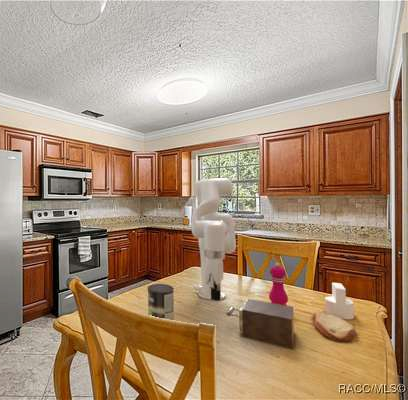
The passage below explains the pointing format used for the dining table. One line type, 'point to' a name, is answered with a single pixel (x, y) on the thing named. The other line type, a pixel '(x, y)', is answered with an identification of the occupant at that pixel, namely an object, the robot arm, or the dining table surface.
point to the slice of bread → (334, 327)
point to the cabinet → (268, 322)
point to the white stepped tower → (339, 303)
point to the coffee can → (161, 301)
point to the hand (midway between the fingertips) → (215, 299)
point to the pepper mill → (278, 285)
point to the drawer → (237, 315)
